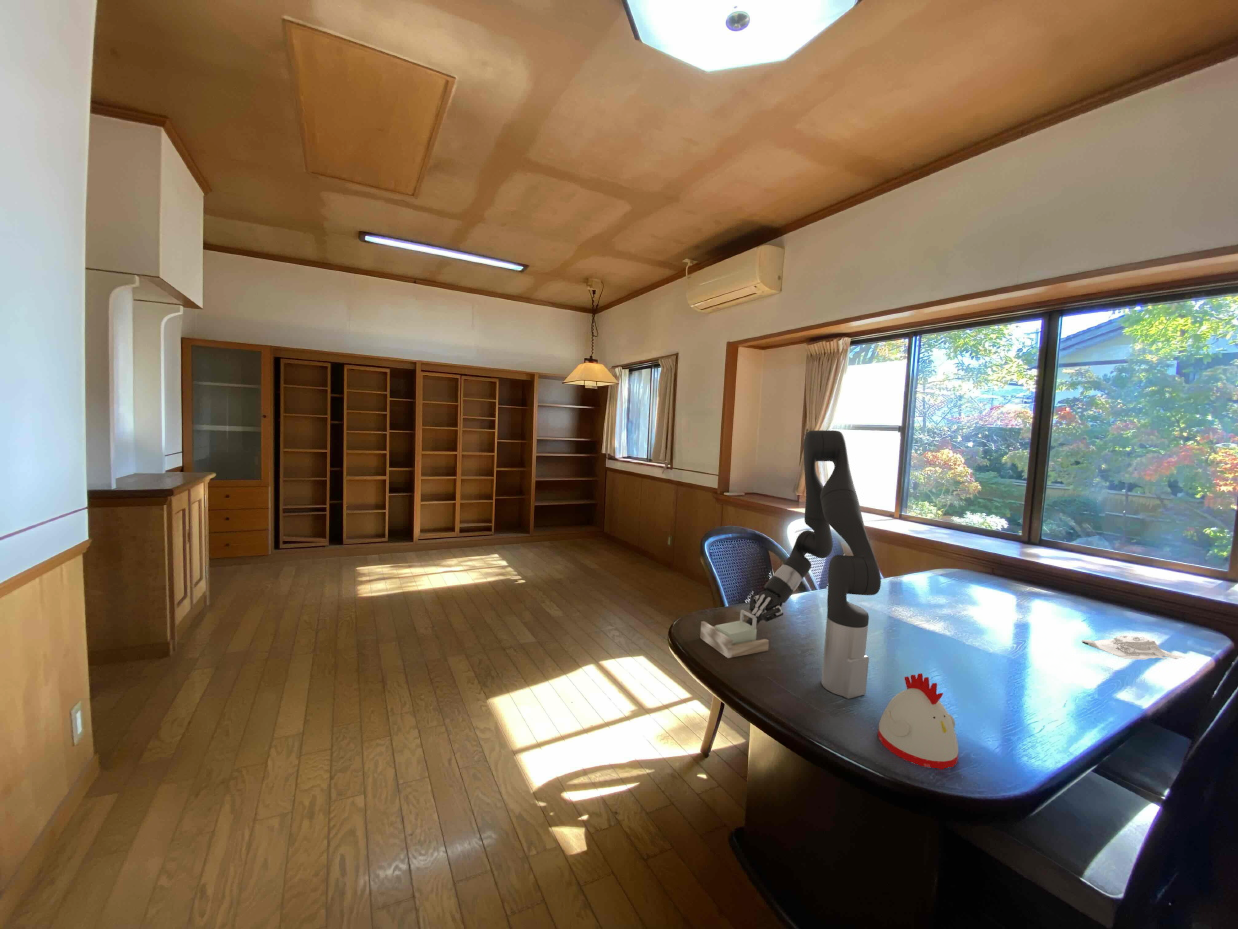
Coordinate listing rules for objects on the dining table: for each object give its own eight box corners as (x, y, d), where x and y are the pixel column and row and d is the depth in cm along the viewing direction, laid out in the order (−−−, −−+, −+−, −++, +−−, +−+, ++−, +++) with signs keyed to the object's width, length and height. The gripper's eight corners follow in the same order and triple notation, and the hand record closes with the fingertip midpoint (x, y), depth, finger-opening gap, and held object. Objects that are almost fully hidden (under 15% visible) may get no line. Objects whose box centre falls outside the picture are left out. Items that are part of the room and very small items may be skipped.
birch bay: (768, 650, 140) (769, 633, 140) (727, 658, 134) (729, 640, 134) (738, 631, 152) (739, 616, 152) (700, 638, 146) (701, 621, 146)
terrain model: (1077, 648, 158) (1078, 633, 157) (1117, 637, 166) (1119, 622, 165) (1147, 672, 142) (1148, 656, 142) (1188, 659, 150) (1190, 643, 150)
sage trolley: (757, 649, 141) (759, 617, 140) (730, 655, 136) (732, 622, 135) (738, 638, 148) (740, 608, 147) (712, 644, 143) (714, 613, 142)
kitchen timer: (917, 774, 91) (925, 697, 90) (863, 729, 105) (869, 662, 103) (974, 764, 95) (983, 690, 94) (915, 722, 108) (921, 656, 107)
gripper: (762, 569, 154) (728, 611, 150) (793, 582, 142) (757, 628, 138) (774, 584, 157) (740, 626, 152) (805, 598, 145) (770, 644, 140)
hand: (748, 627), depth 145 cm, fingers closed
